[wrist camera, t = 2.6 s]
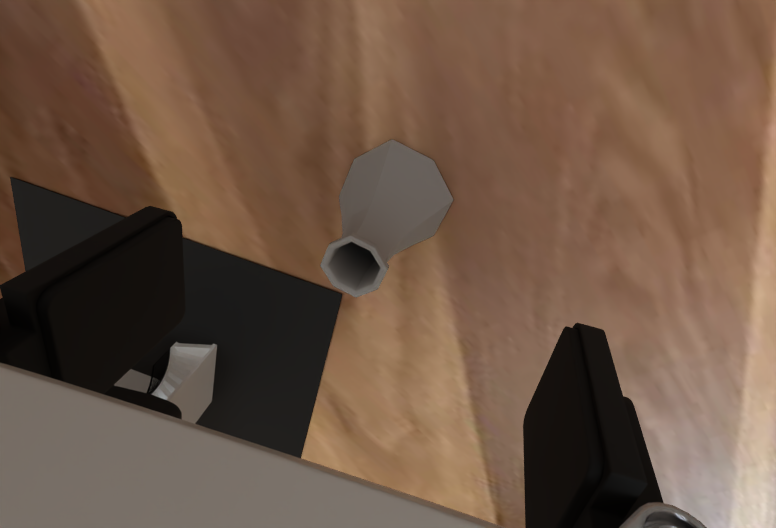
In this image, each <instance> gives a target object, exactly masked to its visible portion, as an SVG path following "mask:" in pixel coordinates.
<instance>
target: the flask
mask: <svg viewBox="0 0 776 528" xmlns="http://www.w3.org/2000/svg"><path fill="white" fill-rule="evenodd" d="M339 202H340V208H341V214H342V229H343V234H342V238H340V239H338V240H335V241H333V242H331V243H330V244H329V246H328V248H327V250H326V253H325V255H324V258H323V260H322V262H321V265H320V266H321V268H322V269H323V271H324V272H325V274H326V275H327V277H328V279H329V280H330V282H331V283H332V285H333V286H334V287H336V288H338V289H340V290H342V291H344V292H346V293H348V294H350V295H352V296H354V297H359V296H361V295H364V294H367V293H369V292H372V291H375V290H377V289H378V287H379V286H380V284H381V282H382V280H383V278H384V276H385V274H386V272H387V270H388V268H389V265H388V263H387V262H388V261H389V260H390V259H391V258H392V257H393V256H394V255H395V254H397V253H399V252H400V251H402V250H404V249H406V248H408V247H410V246H412V245H414V244H416V243H419V242H421V241H423V240H426V239H428V238H430V237H432V236H434V234H435V232H436V231H437V229H438V227H439V225H440V224H441V222H442V220H443V218H444V216H445V215H446V213H447V211H448V209H449V207H450V206H451V204H452V202H453V198H452V196H451V194H450V192H449V190H448V188H447V186H446V184H445V182H444V180H443V178H442V176H441V174H440V172H439V170H438V168H437V166H436V164H435V162H434V160H432V159H430V158H428V157H426V156H424V155H422V154H420V153H419V152H417V151H415V150H413V149H411V148H409V147H407V146H405V145H403V144H401V143H399V142H397V141H395V140H393V139H392V140H390V141H388V142H386V143H384V144H382V145H380V146H378V147H376V148H374V149H372V150H370V151H369V152H367V153H365V154H363V155H361V156H359V157H357V158H355V159H354V161H353V163H352V165H351V168H350V170H349V173H348V175H347V178H346V180H345V183H344V185H343V188H342V190H341V192H340V195H339Z"/></svg>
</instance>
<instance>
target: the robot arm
mask: <svg viewBox="0 0 776 528" xmlns="http://www.w3.org/2000/svg"><path fill="white" fill-rule="evenodd" d="M0 289H1V293H2V296H3V298H1V299H0V528H504V527H502V526H499V525H496V524H493V523H490V522H487V521H485V520H482V519H479V518H476V517H473V516H470V515H467V514H465V513H462V512H459V511H456V510H453V509H450V508H447V507H444V506H442V505H439V504H436V503H433V502H430V501H427V500H424V499H421V498H418V497H415V496H412V495H409V494H406V493H403V492H400V491H397V490H394V489H391V488H388V487H385V486H382V485H379V484H376V483H373V482H370V481H367V480H364V479H361V478H358V477H355V476H352V475H349V474H346V473H343V472H340V471H337V470H334V469H331V468H328V467H325V466H322V465H319V464H316V463H313V462H310V461H307V460H304V459H301V458H298V457H295V456H292V455H289V454H286V453H283V452H280V451H277V450H273V449H270V448H267V447H264V446H261V445H258V444H255V443H252V442H249V441H246V440H243V439H240V438H237V437H234V436H231V435H228V434H225V433H221V432H218V431H215V430H212V429H209V428H206V427H203V426H200V425H197V424H194V423H191V422H188V421H185V420H181V419H178V418H175V417H172V416H169V415H166V414H163V413H160V412H157V411H154V410H150V409H147V408H144V407H141V406H138V405H135V404H132V403H129V402H125V401H122V400H119V399H116V398H113V397H110V396H107V395H104V394H105V393H106V392H107V391H108V390H109V389H110V388H111V387H112V386H113V385H114V384H115V383H116V382H117V381H118V380H119V379H121V378H122V377H123V376H124V375H125V374H126V373H127V372H128V371H129V370H130V369H131V368H132V367H133V366H134V365H135V364H137V363H138V362H139V361H140V360H141V359H142V358H143V357H144V356H145V355H146V354H147V353H148V352H149V351H150V350H151V349H153V348H154V347H155V346H156V345H157V344H158V343H159V342H160V341H161V340H162V339H163V338H164V337H165V336H166V335H168V334H169V333H170V332H171V331H172V330H173V329H174V328H175V327H176V326H177V325H178V324H179V323H180V322H181V321H182V319H183V317H184V314H185V285H184V261H183V238H182V224H181V222H180V221H179V220H178V219H177V217H176V215H175V214H174V213H173V212H171V211H167V210H163V209H160V208H156V207H152V206H148V207H145V208H144V209H142V210H140V211H138V212H136V213H134V214H132V215H130V216H129V217H127V218H125V219H123V220H121V221H119V222H117V223H116V224H114V225H112V226H110V227H108V228H106V229H104V230H102V231H101V232H99V233H97V234H95V235H93V236H91V237H89V238H88V239H86V240H84V241H82V242H80V243H78V244H76V245H74V246H73V247H71V248H69V249H67V250H65V251H63V252H61V253H60V254H58V255H56V256H54V257H52V258H50V259H48V260H46V261H45V262H43V263H41V264H39V265H37V266H35V267H33V268H32V269H30V270H28V271H26V272H24V273H22V274H20V275H18V276H17V277H15V278H13V279H11V280H9V281H7V282H5V283H4V284H2V285H0ZM523 436H524V479H525V521H526V528H706V527H705V526H704V525H703V524H702V523H701V522H700V521H698V520H697V519H696V518H694V517H693V516H691V515H690V514H689V513H687V512H685V511H683V510H681V509H679V508H677V507H675V506H673V505H669V504H665V503H663V500H662V496H661V493H660V490H659V487H658V483H657V480H656V477H655V473H654V470H653V467H652V464H651V460H650V457H649V454H648V450H647V447H646V444H645V441H644V437H643V434H642V431H641V427H640V424H639V421H638V418H637V414H636V411H635V408H634V405H633V403H632V401H631V400H630V399H629V398H627V397H624V396H623V395H622V391H621V388H620V384H619V380H618V377H617V373H616V370H615V366H614V363H613V359H612V356H611V352H610V349H609V345H608V342H607V338H606V335H605V332H604V330H602V329H598V328H595V327H591V326H587V325H584V324H580V323H576V324H575V325H574V326H573V328H570V327H567V326H566V327H565V328H564V329H563V331H562V333H561V335H560V337H559V340H558V342H557V344H556V346H555V349H554V351H553V353H552V355H551V357H550V360H549V362H548V364H547V366H546V369H545V371H544V373H543V375H542V377H541V380H540V382H539V384H538V386H537V389H536V391H535V393H534V395H533V397H532V400H531V402H530V404H529V406H528V409H527V411H526V414H525V418H524V424H523Z"/></svg>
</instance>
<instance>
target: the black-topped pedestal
mask: <svg viewBox="0 0 776 528" xmlns="http://www.w3.org/2000/svg"><path fill="white" fill-rule="evenodd" d="M10 179H11V185H12V191H13V198H14V204H15V210H16V216H17V222H18V228H19V234H20V240H21V246H22V252H23V258H24V265H25V271H28V270H30V269H32V268H33V267H35V266H37V265H39V264H41V263H43V262H45V261H46V260H48V259H50V258H52V257H54V256H56V255H58V254H60V253H61V252H63V251H65V250H67V249H69V248H71V247H73V246H74V245H76V244H78V243H80V242H82V241H84V240H86V239H88V238H89V237H91V236H93V235H95V234H97V233H99V232H101V231H102V230H104V229H106V228H108V227H110V226H112V225H114V224H116V223H117V222H119V221H121V220H123V219H125V217H122V216H119V215H116V214H113V213H110V212H108V211H105V210H102V209H99V208H96V207H93V206H91V205H88V204H85V203H82V202H79V201H77V200H74V199H71V198H68V197H65V196H62V195H60V194H57V193H54V192H51V191H48V190H45V189H43V188H40V187H37V186H34V185H31V184H28V183H26V182H23V181H20V180H17V179H14V178H11V177H10ZM183 261H184V285H185V314H184V317H183V319H182V321H181V322H180V323H179V324H178V325H177V326H176V327H175V328H174V329H173V330H172V331H171V332H170V333H169V334H168V335H166V336H165V337H164V338H163V339H162V340H161V341H160V342H159V343H158V344H157V345H156V346H155V347H154V348H153V349H151V350H150V351H149V352H148V353H147V354H146V355H145V356H144V357H143V358H142V359H141V360H140V361H139V362H138V363H137V364H135V365H134V366H133V367H132V368H131V369H130V370H129V371H128V372H127V373H126V374H125V375H124V376H123V377H122V378H121V379H119V380H118V381H117V382H116V383H115V384H114V385H113V386H112V387H111V388H110V389H109V390H108V391H107V392H106V393H105V394H104V395H107V396H110V397H113V398H116V399H119V400H122V401H125V402H129V403H132V404H135V405H138V406H141V407H144V408H147V409H150V410H154V411H157V412H160V413H163V414H166V415H169V416H172V417H175V418H178V419H181V420H185V421H188V422H191V423H194V424H197V425H200V426H203V427H206V428H209V429H212V430H215V431H218V432H221V433H225V434H228V435H231V436H234V437H237V438H240V439H243V440H246V441H249V442H252V443H255V444H258V445H261V446H264V447H267V448H270V449H273V450H277V451H280V452H283V453H286V454H289V455H292V456H295V457H298V458H301V454H302V450H303V446H304V442H305V438H306V434H307V430H308V426H309V423H310V419H311V415H312V411H313V407H314V403H315V399H316V395H317V391H318V387H319V383H320V380H321V376H322V372H323V368H324V364H325V360H326V356H327V352H328V348H329V344H330V340H331V337H332V333H333V329H334V325H335V321H336V317H337V313H338V309H339V305H340V301H341V297H342V294H339V293H337V292H334V291H331V290H328V289H325V288H323V287H320V286H317V285H314V284H311V283H308V282H306V281H303V280H300V279H297V278H294V277H291V276H289V275H286V274H283V273H280V272H277V271H274V270H272V269H269V268H266V267H263V266H260V265H257V264H255V263H252V262H249V261H246V260H243V259H241V258H238V257H235V256H232V255H229V254H226V253H224V252H221V251H218V250H215V249H212V248H209V247H207V246H204V245H201V244H198V243H195V242H192V241H190V240H187V239H184V238H183Z"/></svg>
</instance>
